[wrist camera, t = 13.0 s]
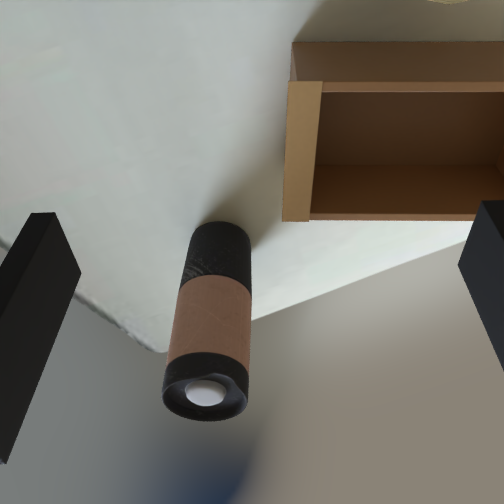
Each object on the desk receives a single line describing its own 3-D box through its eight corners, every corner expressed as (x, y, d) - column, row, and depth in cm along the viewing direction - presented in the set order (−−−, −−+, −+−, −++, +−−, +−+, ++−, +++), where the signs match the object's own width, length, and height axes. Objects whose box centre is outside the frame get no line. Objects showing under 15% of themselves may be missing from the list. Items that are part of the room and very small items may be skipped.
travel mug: (202, 272, 57) (181, 427, 43) (177, 227, 52) (143, 384, 38) (261, 260, 56) (260, 416, 41) (241, 212, 51) (231, 370, 36)
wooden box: (284, 41, 38) (288, 81, 32) (562, 40, 38) (618, 80, 32) (279, 171, 47) (281, 221, 41) (505, 171, 46) (540, 222, 40)
